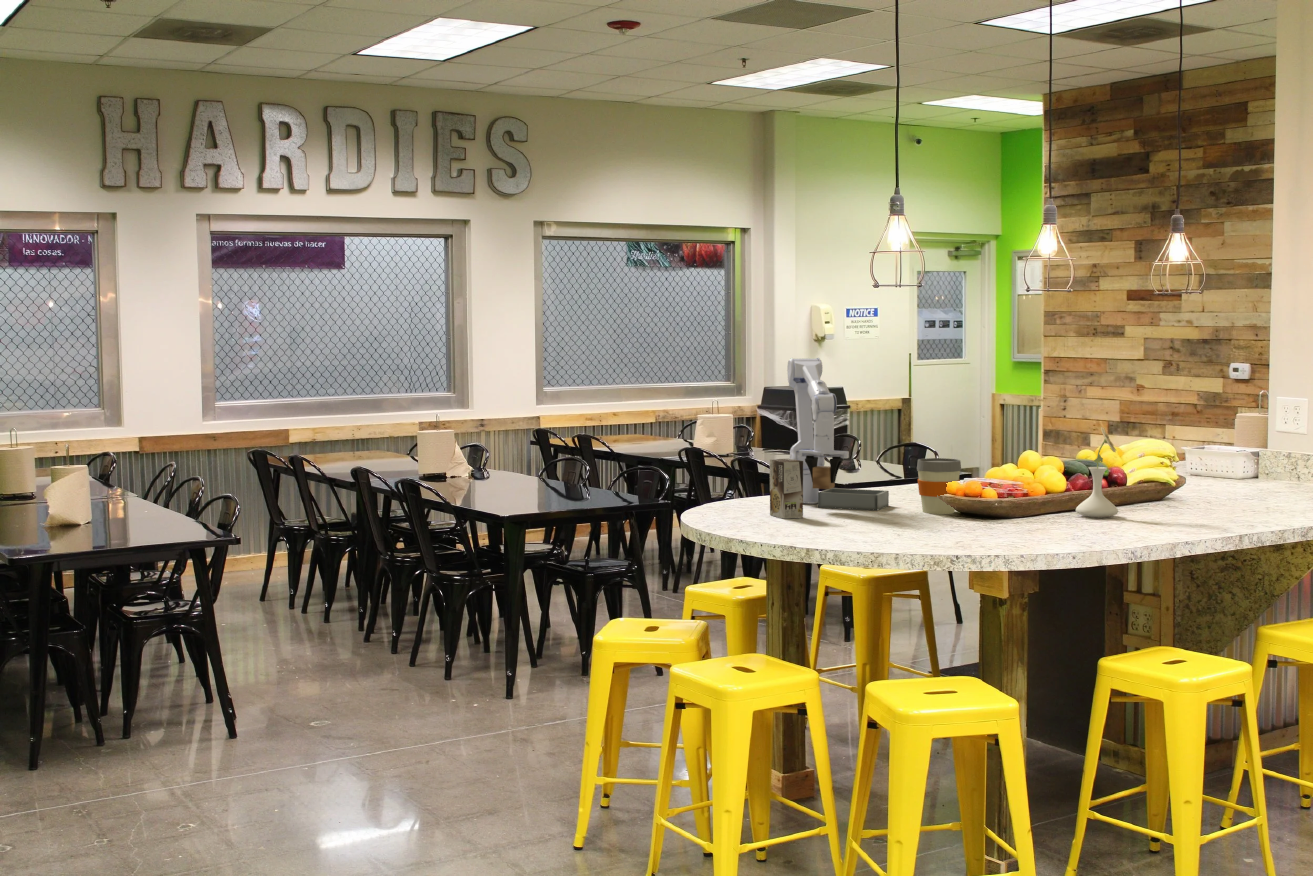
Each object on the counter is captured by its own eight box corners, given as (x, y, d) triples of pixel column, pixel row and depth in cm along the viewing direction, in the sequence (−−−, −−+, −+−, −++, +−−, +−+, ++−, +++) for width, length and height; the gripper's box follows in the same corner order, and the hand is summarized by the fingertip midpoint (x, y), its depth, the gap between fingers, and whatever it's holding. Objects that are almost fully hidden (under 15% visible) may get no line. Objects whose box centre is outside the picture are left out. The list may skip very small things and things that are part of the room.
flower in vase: (1110, 520, 370) (1112, 429, 368) (1069, 517, 376) (1071, 428, 375) (1125, 515, 380) (1127, 426, 378) (1085, 512, 387) (1087, 425, 385)
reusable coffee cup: (964, 514, 383) (965, 462, 382) (920, 515, 383) (920, 462, 382) (955, 509, 396) (956, 458, 394) (912, 509, 396) (913, 458, 395)
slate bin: (818, 507, 401) (818, 492, 400) (830, 502, 412) (830, 488, 411) (877, 510, 393) (877, 495, 393) (888, 505, 404) (888, 490, 404)
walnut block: (812, 488, 391) (812, 467, 391) (818, 486, 396) (818, 466, 395) (829, 489, 389) (829, 468, 388) (834, 487, 393) (834, 466, 393)
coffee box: (804, 518, 379) (804, 460, 378) (783, 519, 376) (783, 461, 375) (789, 514, 387) (789, 457, 386) (768, 515, 385) (768, 458, 384)
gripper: (795, 435, 391) (795, 482, 392) (843, 437, 384) (843, 484, 386) (803, 434, 397) (803, 480, 398) (851, 435, 391) (850, 482, 392)
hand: (823, 482), depth 392 cm, fingers closed on walnut block, 5 cm apart
